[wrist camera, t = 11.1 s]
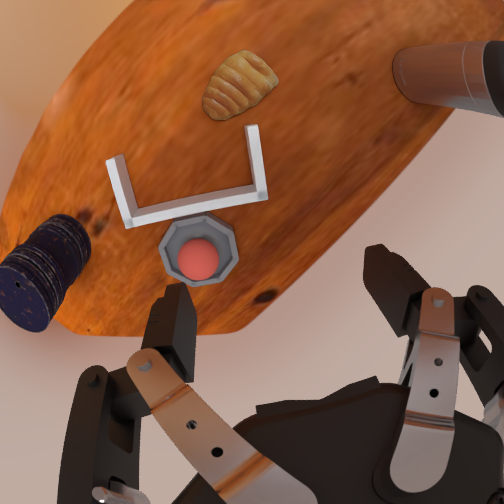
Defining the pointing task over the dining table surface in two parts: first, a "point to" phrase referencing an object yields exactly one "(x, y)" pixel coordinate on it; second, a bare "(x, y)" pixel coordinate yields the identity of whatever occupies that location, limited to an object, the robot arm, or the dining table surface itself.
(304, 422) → the robot arm
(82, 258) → the dark blue ridged cylinder
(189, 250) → the ball
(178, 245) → the dish
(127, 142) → the dining table surface
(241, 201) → the white u-shaped bracket
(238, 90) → the pastry
